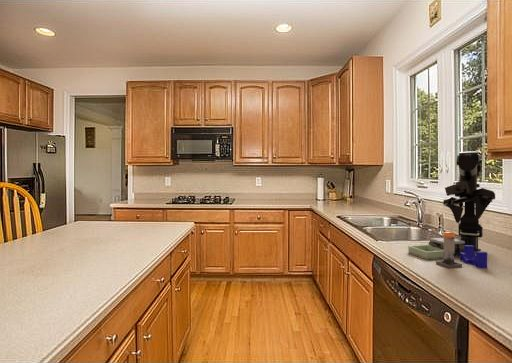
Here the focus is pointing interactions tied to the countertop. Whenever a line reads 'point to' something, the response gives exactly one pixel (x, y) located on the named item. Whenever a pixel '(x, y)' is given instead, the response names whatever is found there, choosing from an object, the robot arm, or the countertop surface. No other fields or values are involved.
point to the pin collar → (449, 265)
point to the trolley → (440, 244)
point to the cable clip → (474, 257)
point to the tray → (426, 252)
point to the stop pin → (449, 247)
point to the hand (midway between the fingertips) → (467, 220)
